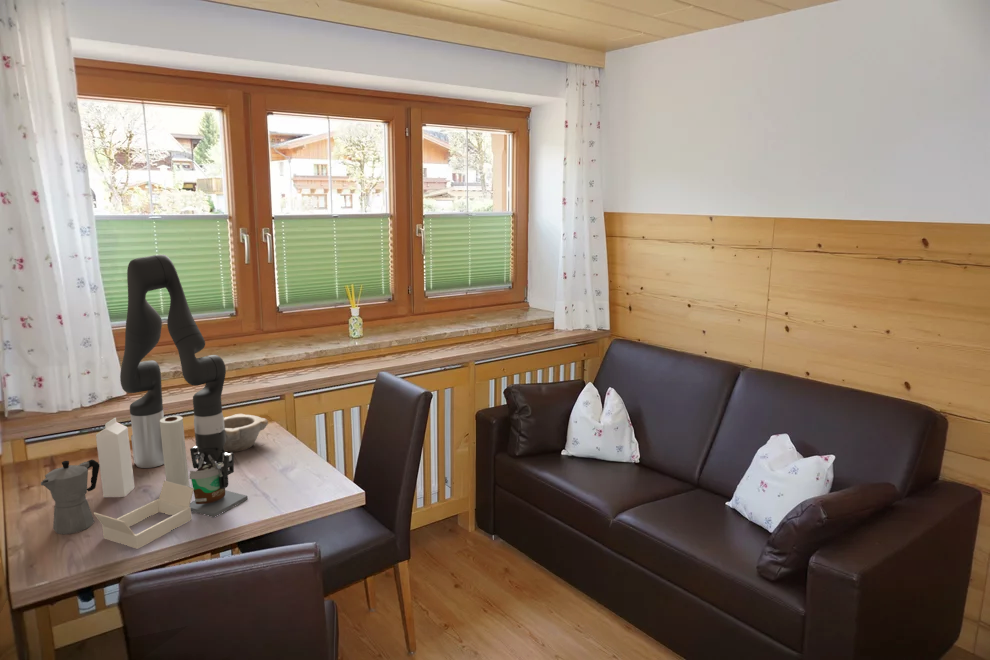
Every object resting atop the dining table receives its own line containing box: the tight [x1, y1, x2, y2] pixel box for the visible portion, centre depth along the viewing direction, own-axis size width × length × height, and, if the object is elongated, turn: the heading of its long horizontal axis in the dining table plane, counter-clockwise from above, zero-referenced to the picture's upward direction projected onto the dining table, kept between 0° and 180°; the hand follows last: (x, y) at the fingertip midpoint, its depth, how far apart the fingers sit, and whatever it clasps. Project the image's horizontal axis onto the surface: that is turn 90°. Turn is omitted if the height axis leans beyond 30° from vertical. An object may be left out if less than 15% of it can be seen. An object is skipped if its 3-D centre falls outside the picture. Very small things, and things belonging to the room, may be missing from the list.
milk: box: [95, 417, 135, 498], centre depth 190 cm, size 6×6×22 cm
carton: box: [93, 480, 194, 550], centre depth 171 cm, size 12×20×8 cm, turn 156°
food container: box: [189, 462, 226, 504], centre depth 184 cm, size 12×6×10 cm, turn 168°
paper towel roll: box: [160, 415, 190, 487], centre depth 193 cm, size 7×6×21 cm
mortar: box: [223, 413, 269, 453], centre depth 226 cm, size 17×17×9 cm
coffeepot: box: [40, 459, 100, 535], centre depth 173 cm, size 15×9×18 cm, turn 159°
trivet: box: [189, 489, 249, 518], centre depth 186 cm, size 11×12×1 cm
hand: (214, 485), depth 185 cm, fingers closed on food container, 6 cm apart
